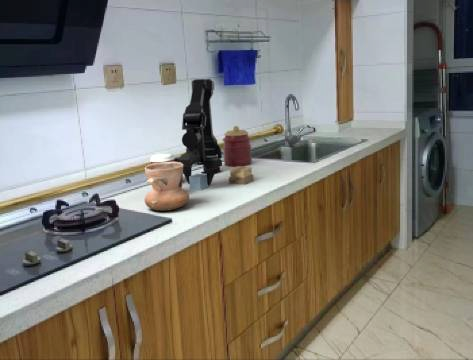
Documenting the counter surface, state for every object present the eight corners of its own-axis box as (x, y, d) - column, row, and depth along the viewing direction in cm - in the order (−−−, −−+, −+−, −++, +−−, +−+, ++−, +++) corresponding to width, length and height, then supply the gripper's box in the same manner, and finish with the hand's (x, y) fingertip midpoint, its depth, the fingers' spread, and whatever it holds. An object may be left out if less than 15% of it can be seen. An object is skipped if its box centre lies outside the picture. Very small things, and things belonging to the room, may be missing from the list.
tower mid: (230, 176, 191) (230, 169, 190) (238, 173, 196) (238, 166, 195) (243, 177, 188) (243, 170, 187) (251, 174, 193) (251, 167, 192)
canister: (234, 160, 238) (232, 123, 234) (257, 162, 230) (255, 124, 226) (218, 165, 228) (215, 127, 224) (241, 167, 220) (239, 128, 216)
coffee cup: (157, 201, 171) (153, 158, 167) (150, 196, 178) (146, 155, 175) (180, 197, 174) (177, 155, 171) (172, 192, 182) (168, 152, 178)
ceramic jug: (170, 217, 152) (166, 171, 148) (133, 212, 159) (129, 169, 155) (202, 201, 167) (199, 160, 164) (167, 198, 174) (163, 158, 171)
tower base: (229, 184, 191) (228, 177, 191) (238, 180, 197) (238, 173, 197) (244, 185, 188) (244, 178, 187) (253, 181, 194) (253, 174, 193)
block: (190, 189, 186) (189, 176, 184) (198, 186, 190) (197, 173, 189) (200, 190, 183) (199, 177, 182) (208, 187, 187) (207, 174, 186)
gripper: (162, 146, 181) (166, 187, 184) (203, 148, 171) (206, 191, 174) (181, 141, 190) (184, 181, 194) (221, 143, 180) (224, 184, 184)
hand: (199, 184), depth 186 cm, fingers open, 9 cm apart
